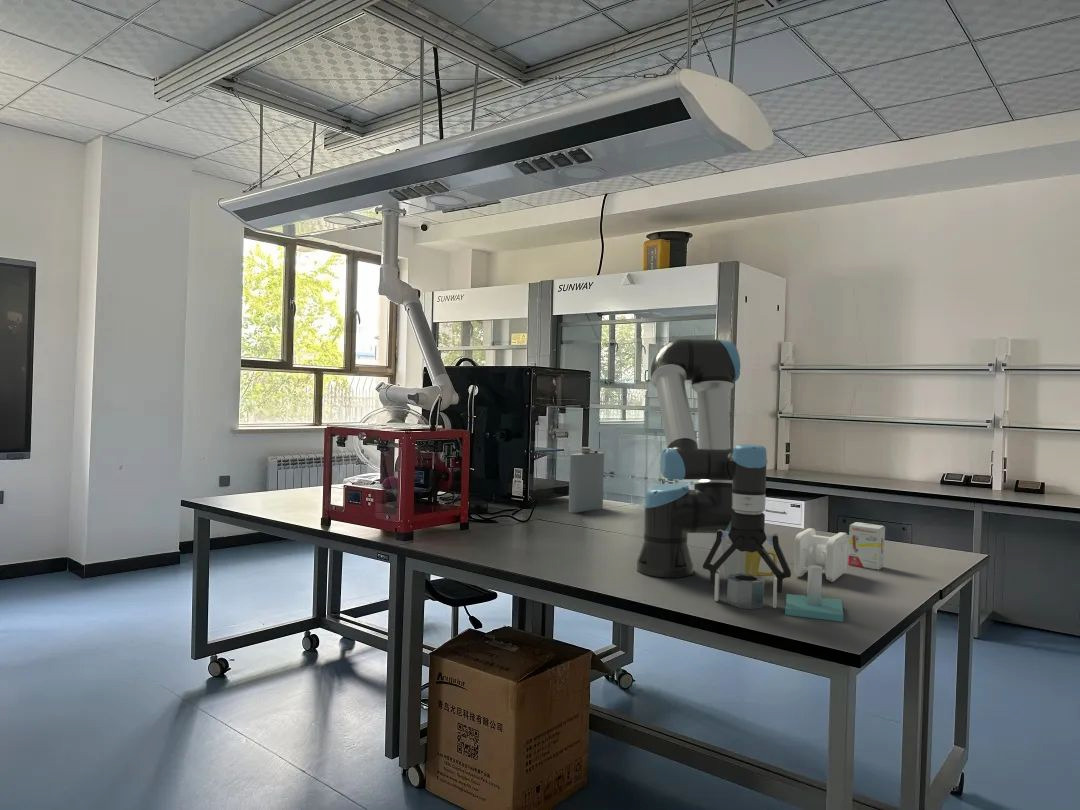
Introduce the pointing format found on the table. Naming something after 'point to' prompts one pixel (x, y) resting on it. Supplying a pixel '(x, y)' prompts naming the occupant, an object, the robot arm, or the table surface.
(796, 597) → the shaft block
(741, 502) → the robot arm
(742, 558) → the mug
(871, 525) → the ink box
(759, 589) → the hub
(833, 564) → the cable organizer
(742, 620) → the table surface
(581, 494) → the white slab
